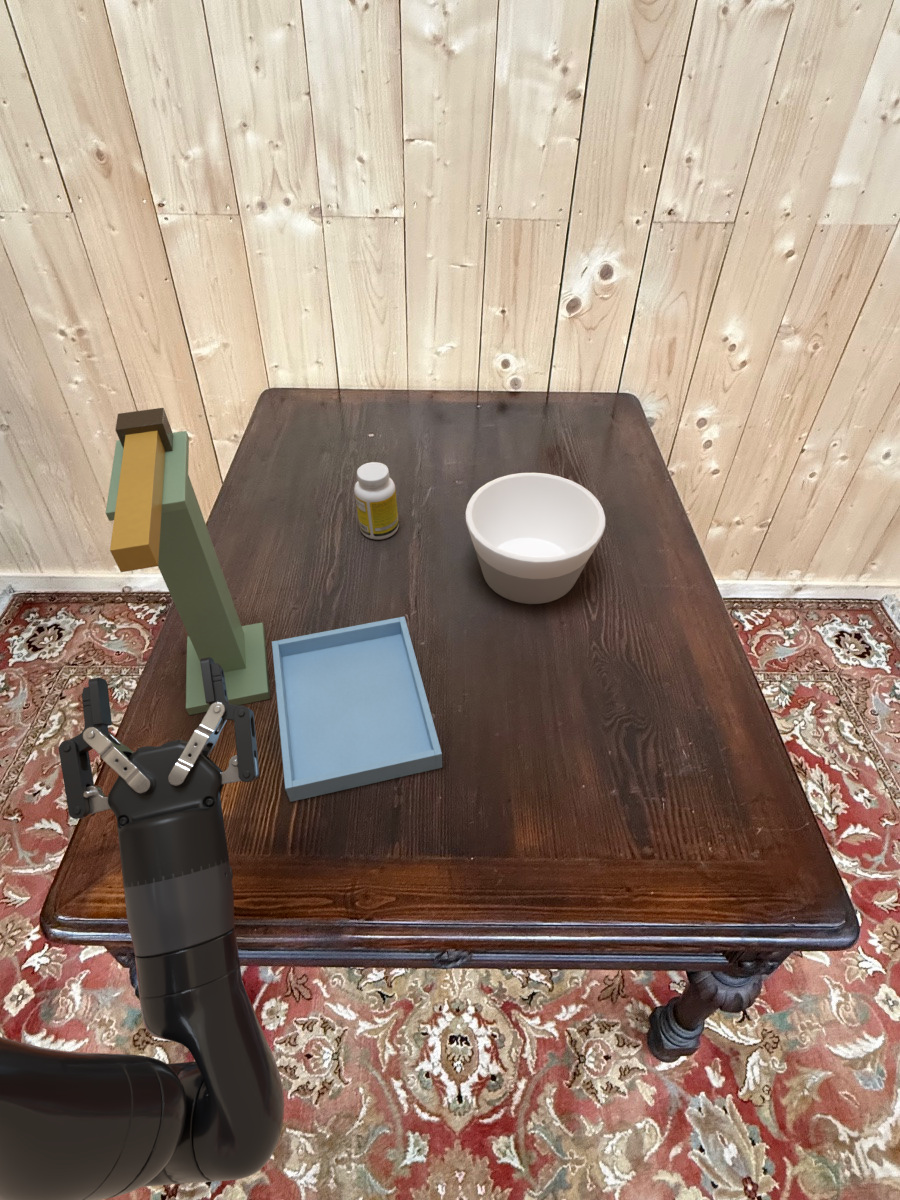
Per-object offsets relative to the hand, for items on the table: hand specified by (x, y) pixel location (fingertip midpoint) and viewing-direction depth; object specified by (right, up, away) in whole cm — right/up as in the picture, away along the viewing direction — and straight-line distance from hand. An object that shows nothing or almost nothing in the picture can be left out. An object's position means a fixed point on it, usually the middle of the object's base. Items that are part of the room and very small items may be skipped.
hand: (152, 669), depth 56 cm
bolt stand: (-5, -4, +35) cm, 35 cm away
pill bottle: (+13, +17, +54) cm, 58 cm away
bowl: (+36, +10, +47) cm, 60 cm away
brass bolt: (-4, +15, +8) cm, 18 cm away
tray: (+12, -8, +30) cm, 33 cm away
